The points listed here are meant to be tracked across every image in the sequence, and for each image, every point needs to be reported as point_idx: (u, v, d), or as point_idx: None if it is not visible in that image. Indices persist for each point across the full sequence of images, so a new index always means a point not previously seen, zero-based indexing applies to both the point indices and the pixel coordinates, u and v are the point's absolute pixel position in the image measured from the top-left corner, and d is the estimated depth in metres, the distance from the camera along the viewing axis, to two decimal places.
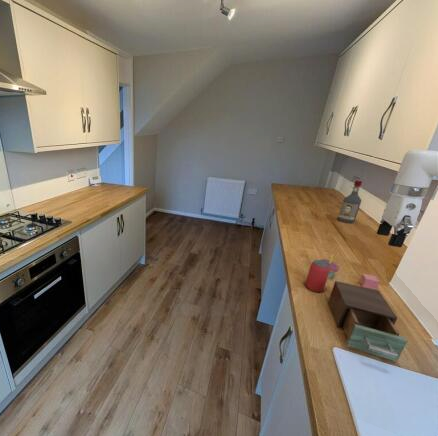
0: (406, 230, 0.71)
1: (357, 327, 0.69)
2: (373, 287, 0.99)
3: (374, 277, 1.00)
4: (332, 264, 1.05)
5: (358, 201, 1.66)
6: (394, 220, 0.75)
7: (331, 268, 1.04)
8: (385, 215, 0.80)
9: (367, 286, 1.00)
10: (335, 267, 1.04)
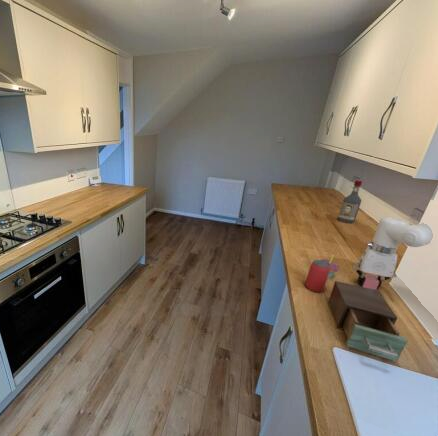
0: (354, 269, 1.02)
1: (357, 327, 0.69)
2: (373, 287, 0.99)
3: (374, 277, 1.00)
4: (332, 264, 1.05)
5: (358, 201, 1.66)
6: None
7: (331, 268, 1.04)
8: None
9: (367, 286, 1.00)
10: (335, 267, 1.04)
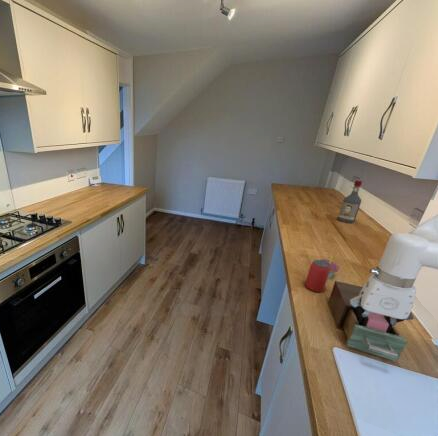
0: None
1: (357, 327, 0.69)
2: None
3: (381, 316, 0.70)
4: (332, 264, 1.05)
5: (358, 201, 1.66)
6: None
7: (331, 268, 1.04)
8: None
9: None
10: (335, 267, 1.04)
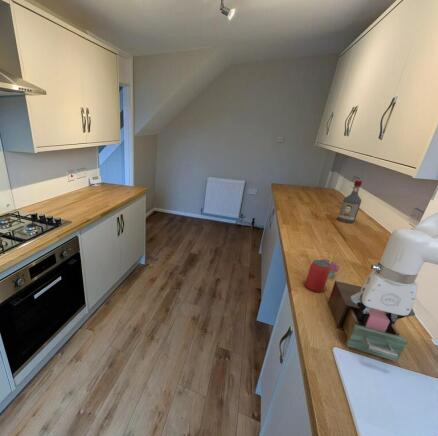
0: None
1: (357, 327, 0.69)
2: (381, 328, 0.69)
3: (382, 313, 0.70)
4: (332, 264, 1.05)
5: (358, 201, 1.66)
6: None
7: (331, 268, 1.04)
8: None
9: (372, 326, 0.70)
10: (335, 267, 1.04)
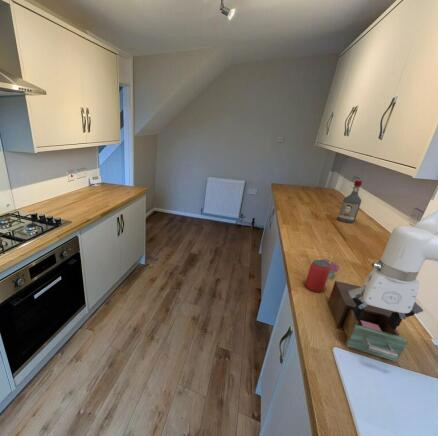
0: None
1: (357, 327, 0.69)
2: None
3: (376, 327, 0.72)
4: (332, 264, 1.05)
5: (358, 201, 1.66)
6: None
7: (331, 268, 1.04)
8: None
9: None
10: (335, 267, 1.04)
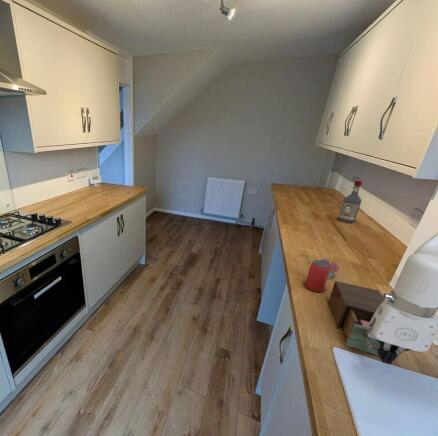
0: None
1: (357, 327, 0.69)
2: None
3: None
4: (332, 264, 1.05)
5: (358, 201, 1.66)
6: None
7: (331, 268, 1.04)
8: None
9: None
10: (335, 267, 1.04)
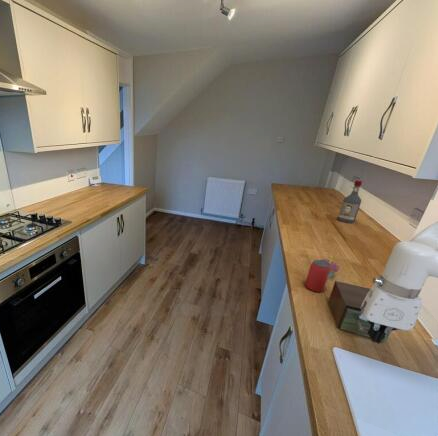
0: None
1: (350, 311, 0.75)
2: None
3: None
4: (332, 264, 1.05)
5: (358, 201, 1.66)
6: None
7: (331, 268, 1.04)
8: None
9: None
10: (335, 267, 1.04)
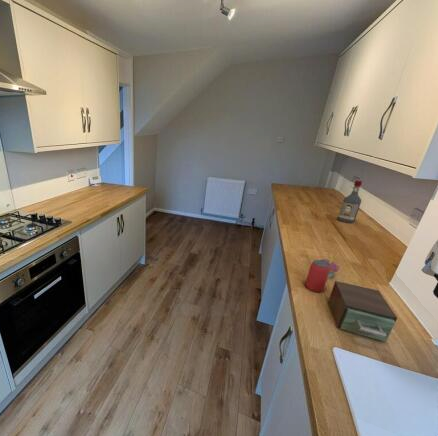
0: (430, 274, 0.59)
1: (350, 311, 0.75)
2: None
3: None
4: (332, 264, 1.05)
5: (358, 201, 1.66)
6: None
7: (331, 268, 1.04)
8: None
9: None
10: (335, 267, 1.04)
